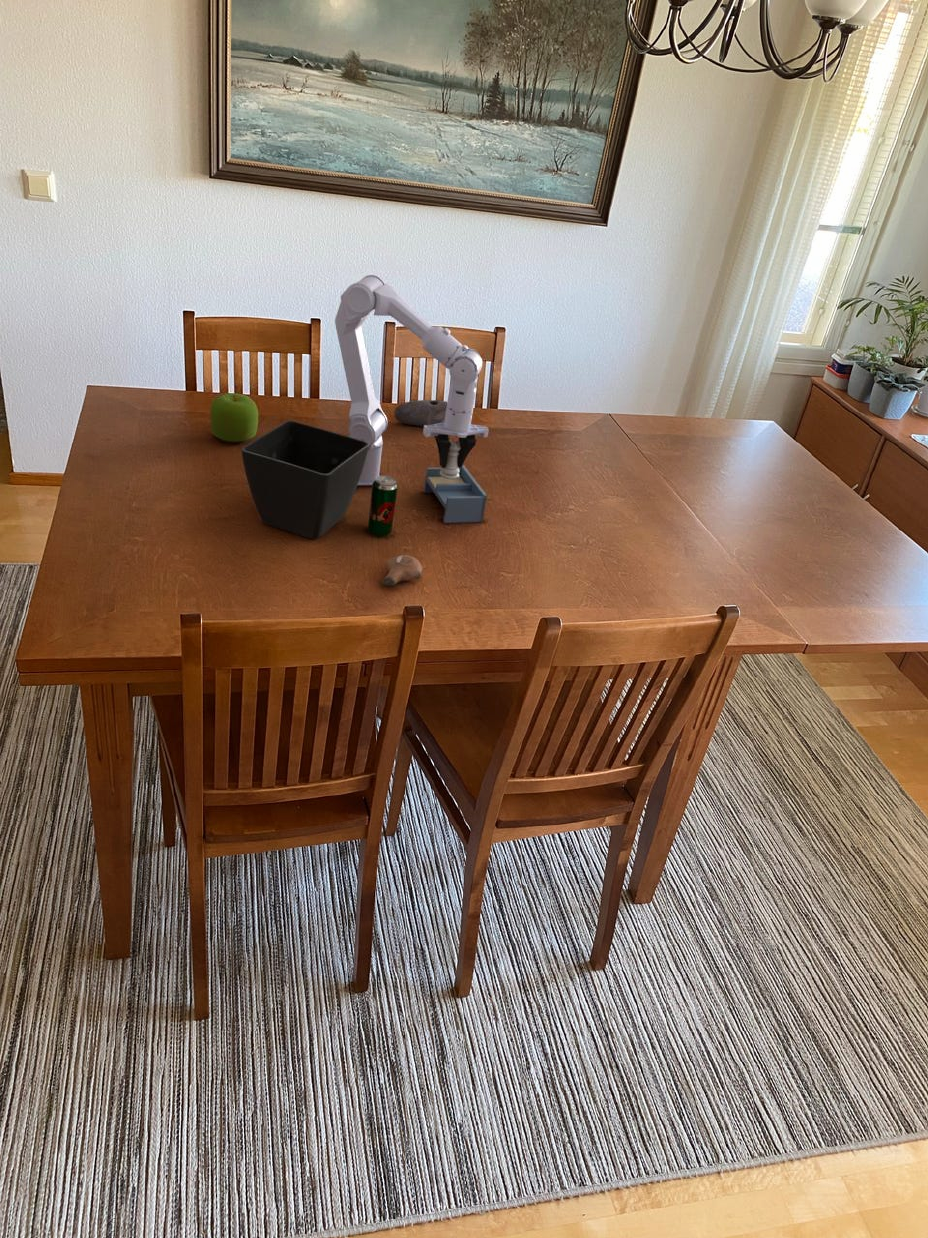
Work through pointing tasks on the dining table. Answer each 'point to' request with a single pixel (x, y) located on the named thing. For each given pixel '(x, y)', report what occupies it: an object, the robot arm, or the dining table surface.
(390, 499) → the soda can
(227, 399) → the apple
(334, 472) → the flower pot
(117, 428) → the dining table surface
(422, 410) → the perforated stone tool
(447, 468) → the rook chess piece
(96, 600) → the dining table surface
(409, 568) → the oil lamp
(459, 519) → the blue open tray
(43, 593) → the dining table surface
